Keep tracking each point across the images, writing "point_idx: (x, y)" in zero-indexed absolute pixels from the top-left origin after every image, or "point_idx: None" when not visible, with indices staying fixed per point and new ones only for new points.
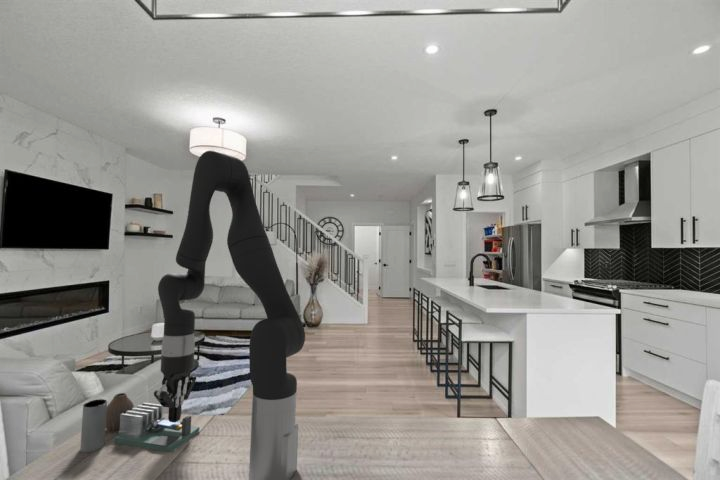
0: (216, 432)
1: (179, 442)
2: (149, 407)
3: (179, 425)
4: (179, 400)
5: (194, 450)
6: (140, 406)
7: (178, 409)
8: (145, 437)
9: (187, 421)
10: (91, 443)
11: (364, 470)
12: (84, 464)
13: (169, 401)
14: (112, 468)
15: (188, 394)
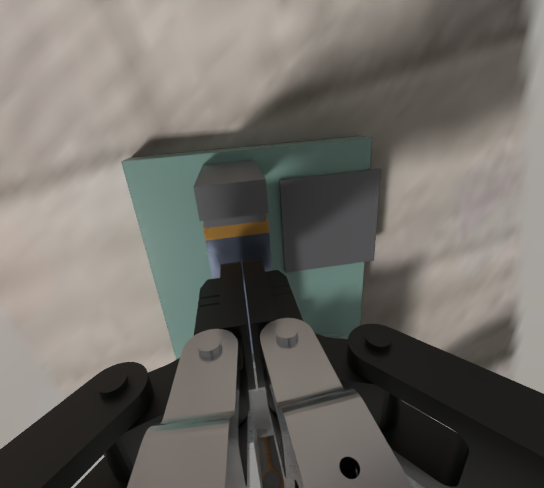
0: (72, 29)
1: (311, 142)
2: (258, 478)
3: (240, 234)
4: (240, 377)
5: (316, 14)
6: None
7: (253, 306)
8: (326, 320)
9: (243, 176)
10: (428, 415)
11: None
12: (472, 347)
13: (476, 386)
14: (492, 258)
15: (67, 416)
